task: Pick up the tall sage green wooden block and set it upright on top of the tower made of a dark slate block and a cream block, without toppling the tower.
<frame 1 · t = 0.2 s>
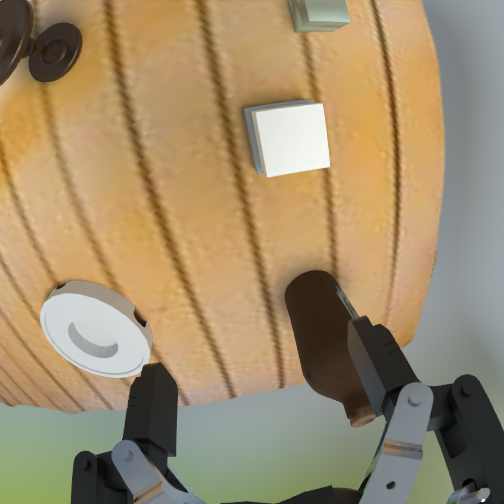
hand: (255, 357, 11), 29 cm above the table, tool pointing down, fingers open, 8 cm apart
candlestick: (56, 52, 23), on the table
slate base block: (278, 132, 34), on the table
olive oil: (311, 291, 47), on the table
cream top block: (286, 135, 30), point 4 cm above the table
sage block: (310, 16, 25), on the table
ashtray: (97, 326, 47), on the table
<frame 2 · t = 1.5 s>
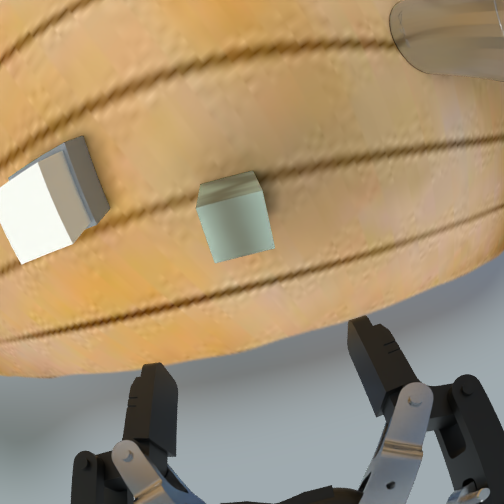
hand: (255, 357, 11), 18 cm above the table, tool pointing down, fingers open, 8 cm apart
slate base block: (66, 185, 23), on the table, touching cream top block
cream top block: (48, 200, 20), point 4 cm above the table, touching slate base block
sage block: (233, 201, 27), on the table
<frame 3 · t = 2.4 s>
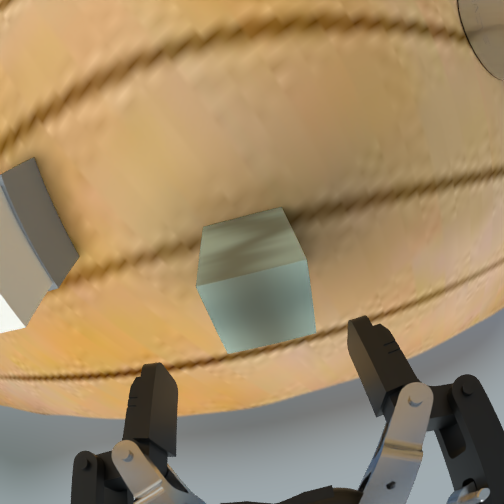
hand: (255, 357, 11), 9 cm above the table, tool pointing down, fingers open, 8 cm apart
slate base block: (24, 224, 16), on the table, touching cream top block
sage block: (251, 250, 19), on the table
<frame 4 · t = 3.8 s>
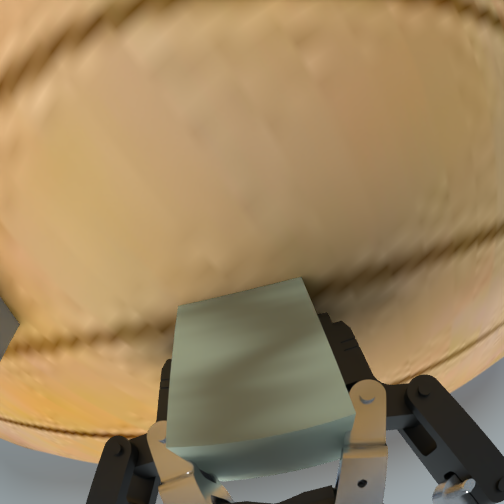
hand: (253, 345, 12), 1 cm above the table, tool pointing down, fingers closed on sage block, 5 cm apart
sage block: (251, 333, 12), on the table, touching gripper
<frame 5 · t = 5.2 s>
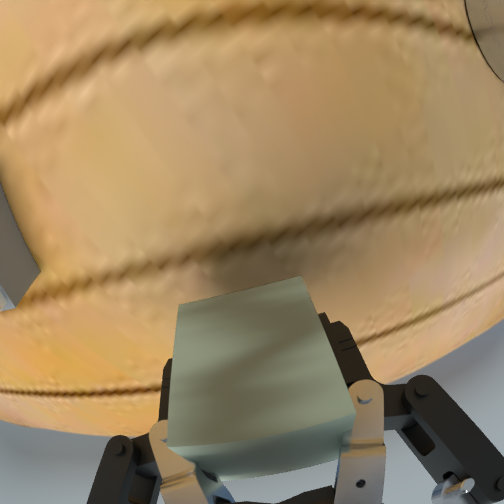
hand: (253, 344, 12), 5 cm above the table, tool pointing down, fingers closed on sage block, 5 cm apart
sage block: (252, 332, 12), point 5 cm above the table, touching gripper
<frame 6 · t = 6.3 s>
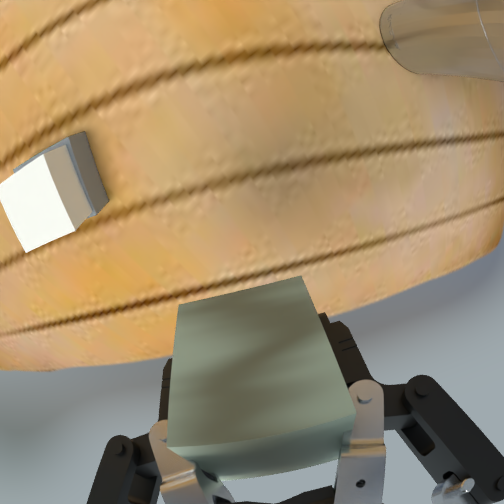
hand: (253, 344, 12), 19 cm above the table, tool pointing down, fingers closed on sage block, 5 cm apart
slate base block: (68, 178, 24), on the table
cream top block: (52, 191, 21), point 4 cm above the table
sage block: (252, 332, 12), point 18 cm above the table, touching gripper
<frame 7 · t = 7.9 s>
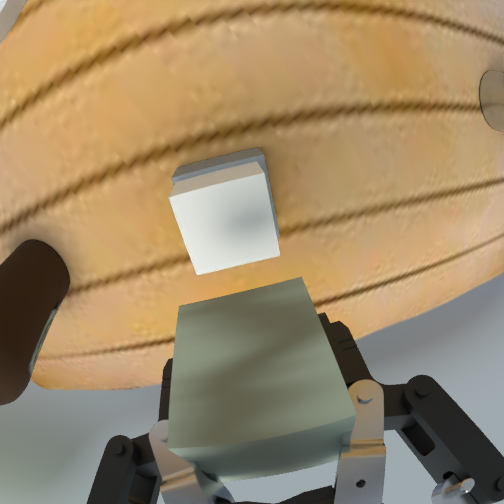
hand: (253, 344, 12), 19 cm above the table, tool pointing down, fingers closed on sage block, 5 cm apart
slate base block: (226, 193, 28), on the table
olive oil: (42, 270, 29), on the table
cream top block: (225, 208, 24), point 4 cm above the table
sage block: (252, 333, 12), point 18 cm above the table, touching gripper
when the fingers open (10 cm above the table, at t = 11.0 s): sage block drops 1 cm, resting on cream top block.
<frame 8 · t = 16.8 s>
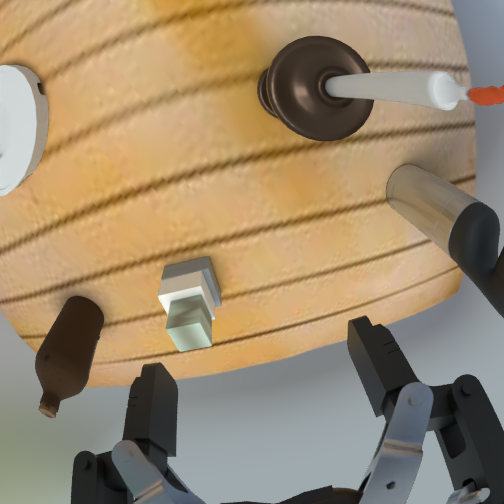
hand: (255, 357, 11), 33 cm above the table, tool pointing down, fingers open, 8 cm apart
candlestick: (288, 90, 35), on the table
slate base block: (193, 278, 49), on the table, touching cream top block
olive oil: (84, 312, 50), on the table
cream top block: (188, 292, 45), point 4 cm above the table, touching sage block, slate base block
sage block: (191, 309, 42), point 8 cm above the table, touching cream top block
ashtray: (4, 128, 29), on the table
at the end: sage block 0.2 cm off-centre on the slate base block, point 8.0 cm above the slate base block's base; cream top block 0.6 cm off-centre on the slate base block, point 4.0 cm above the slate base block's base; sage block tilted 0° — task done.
